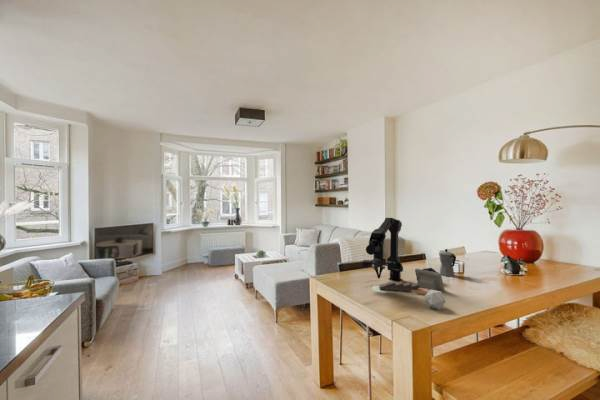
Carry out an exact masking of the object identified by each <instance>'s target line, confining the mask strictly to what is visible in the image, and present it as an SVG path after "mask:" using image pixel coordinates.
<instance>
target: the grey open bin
mask: <svg viewBox="0 0 600 400" xmlns="http://www.w3.org/2000/svg"><path fill="white" fill-rule="evenodd" d="M421 270H426V271H431V272H436V273H439V272H438V271H436V270H435V269H434V268H432V267H428V268H423V269H421Z"/></svg>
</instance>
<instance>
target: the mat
mask: <svg viewBox="0 0 600 400" xmlns="http://www.w3.org/2000/svg"><path fill="white" fill-rule="evenodd" d="M371 292H377V293H378V292H379V293H390V294H403V295H411V296H413V295H416V296H417V293H412V292H411V290H410V291H407V292H404V291H403V290H400V291H395V289H393V290H389V291H388V290H387V288H386V289H383V290H380V289H379V285H373V286H372V290H371Z"/></svg>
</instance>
